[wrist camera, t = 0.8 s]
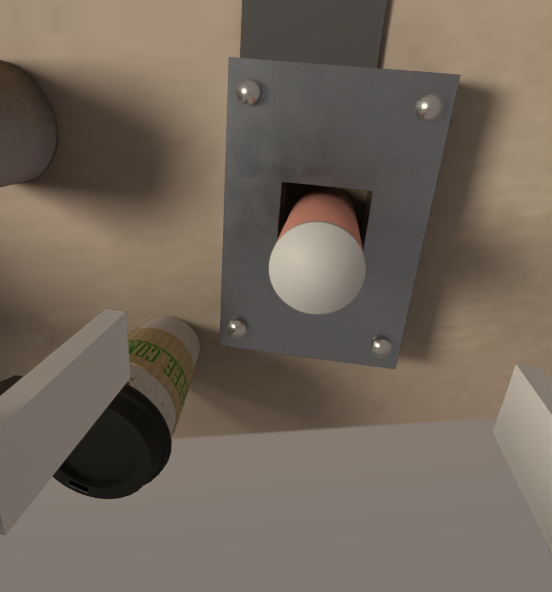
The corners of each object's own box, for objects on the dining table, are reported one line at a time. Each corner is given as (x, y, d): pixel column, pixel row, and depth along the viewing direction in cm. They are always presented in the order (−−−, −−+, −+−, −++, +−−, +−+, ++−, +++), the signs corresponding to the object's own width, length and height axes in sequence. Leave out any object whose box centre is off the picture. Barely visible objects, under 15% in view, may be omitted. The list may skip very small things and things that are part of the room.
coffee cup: (233, 325, 41) (181, 432, 27) (197, 400, 45) (137, 525, 31) (138, 281, 41) (37, 366, 27) (110, 360, 45) (10, 470, 31)
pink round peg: (288, 246, 37) (265, 308, 26) (294, 182, 35) (272, 217, 23) (350, 253, 37) (357, 319, 25) (360, 189, 35) (373, 228, 23)
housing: (230, 324, 41) (218, 348, 37) (240, 63, 32) (226, 56, 28) (390, 345, 40) (396, 373, 36) (446, 79, 31) (463, 73, 27)
